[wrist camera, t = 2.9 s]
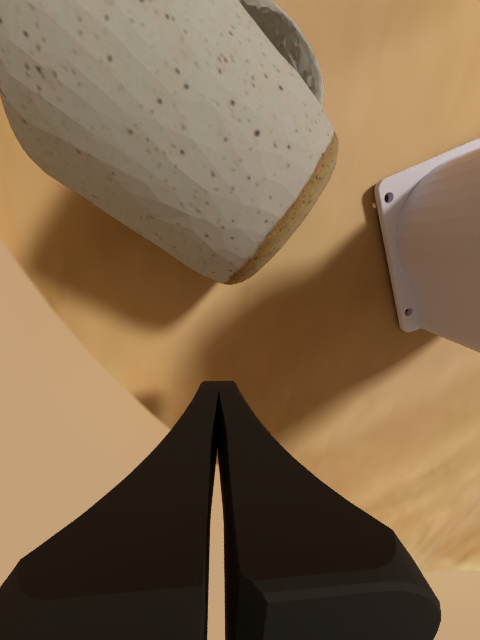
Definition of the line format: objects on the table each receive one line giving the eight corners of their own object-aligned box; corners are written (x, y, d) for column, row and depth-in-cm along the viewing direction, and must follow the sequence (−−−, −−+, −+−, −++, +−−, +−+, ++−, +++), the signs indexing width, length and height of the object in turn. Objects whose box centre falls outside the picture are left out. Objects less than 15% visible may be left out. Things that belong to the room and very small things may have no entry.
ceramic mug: (228, 284, 14) (242, 323, 7) (97, 194, 12) (-87, 109, 5) (345, 115, 12) (544, -92, 5) (211, -26, 10) (199, -750, 3)
